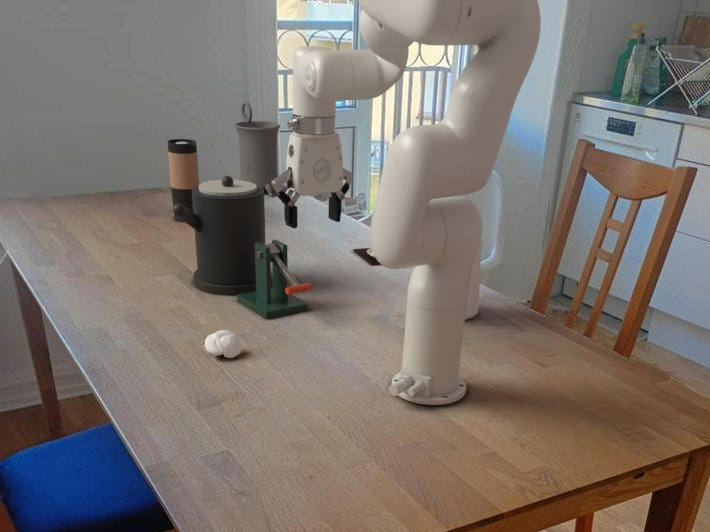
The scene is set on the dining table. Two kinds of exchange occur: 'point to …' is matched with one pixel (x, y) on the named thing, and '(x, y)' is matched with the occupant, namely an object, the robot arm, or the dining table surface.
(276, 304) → the switch bracket
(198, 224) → the kettle
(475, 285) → the coffeepot
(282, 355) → the dining table surface
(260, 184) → the grey canister
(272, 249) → the switch lever
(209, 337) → the dumpling
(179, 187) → the travel mug
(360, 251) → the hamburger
